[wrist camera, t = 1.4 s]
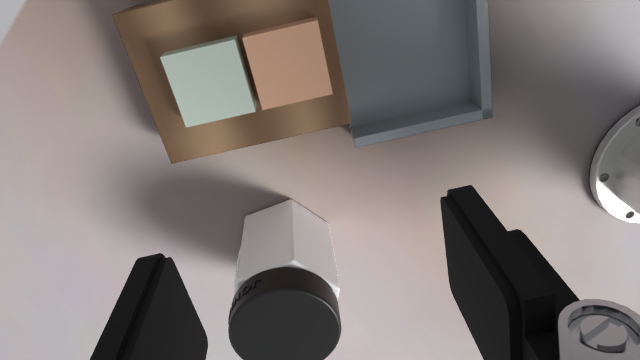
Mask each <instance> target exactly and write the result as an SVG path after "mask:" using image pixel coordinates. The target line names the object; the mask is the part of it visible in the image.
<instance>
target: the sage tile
mask: <svg viewBox="0 0 640 360" xmlns="http://www.w3.org/2000/svg"><path fill="white" fill-rule="evenodd" d="M160 58H161V61H162V64H163V67H164V69H165V72H166V75H167V77H168V80H169V83H170V86H171V88H172V91H173V94H174V96H175V99H176V102H177V105H178V107H179V110H180V113H181V115H182V118H183V121H184V123H185V126H186V128H187V127H191V126H196V125H200V124H204V123H209V122H213V121H217V120H222V119H226V118H231V117H235V116H239V115H244V114H248V113H252V112H256V106H257V104H256V100H255V97H254V93H253V90H252V86H251V83H250V80H249V76H248V73H247V69H246V66H245V62H244V59H243V55H242V52H241V48H240V45H239V41H238V38H237V35H236V36H232V37H228V38H223V39H219V40H215V41H210V42H206V43H202V44H198V45H193V46H189V47H185V48H181V49H176V50H172V51H168V52H165V53H164V54H163V55H162V56H161V57H160Z"/></svg>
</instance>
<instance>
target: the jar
mask: <svg viewBox="0 0 640 360" xmlns="http://www.w3.org/2000/svg"><path fill="white" fill-rule="evenodd" d="M339 292H340V286H339V279H338V273H337V267H336V261H335V255H334V249H333V243H332V237H331V231H330V225H329V224H328V223H327V222H325V221H324V220H322V219H321V218H319V217H318V216H316V215H315V214H313V213H312V212H310V211H308V210H307V209H305V208H304V207H302V206H301V205H299V204H298V203H296V202H295V201H293V200H287V201H285V202H282V203H279V204H277V205H274V206H271V207H269V208H266V209H263V210H261V211H258V212H255V213H253V214H250V215H247V216H246V217H245V220H244V227H243V234H242V241H241V249H239V253H238V260H237V266H236V275H235V295H234V298H233V302H232V307H231V308H230V314H229V321H228V324H229V330H228V331H229V339H230V342H231V345H232V347H233V349H234V350H235V352H236V353H237V354H238V355H239V356H240V357H241V358H242V359H243V360H324V359H325V358H326V357H327V356H329V355H330V353H331V352H332V351H333V350H334V349H335V347H336V345H337V344H338V341H339V339H340V335H341V321H340V314H339V308H338V296H339Z"/></svg>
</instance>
